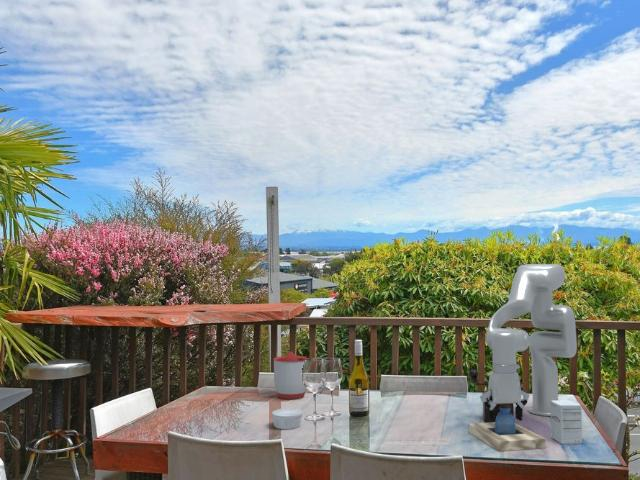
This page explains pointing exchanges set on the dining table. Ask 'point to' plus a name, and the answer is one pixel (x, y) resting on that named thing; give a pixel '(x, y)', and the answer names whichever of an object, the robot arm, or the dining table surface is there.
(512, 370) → the robot arm
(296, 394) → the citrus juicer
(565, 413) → the supplement box
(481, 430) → the hole board
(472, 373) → the coffee grinder
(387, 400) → the dining table surface
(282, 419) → the ramekin
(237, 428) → the dining table surface
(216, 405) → the dining table surface
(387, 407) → the dining table surface
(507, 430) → the perfume bottle
